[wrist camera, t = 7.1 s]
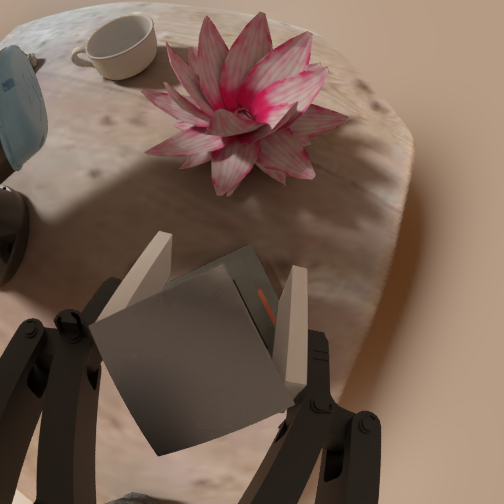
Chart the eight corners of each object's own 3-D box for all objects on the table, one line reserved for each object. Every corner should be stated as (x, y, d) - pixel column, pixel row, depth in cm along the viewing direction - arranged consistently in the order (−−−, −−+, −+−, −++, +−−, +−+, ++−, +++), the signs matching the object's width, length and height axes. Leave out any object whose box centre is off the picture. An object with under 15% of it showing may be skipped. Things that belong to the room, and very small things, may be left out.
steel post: (191, 309, 27) (88, 325, 7) (234, 289, 28) (223, 261, 8) (212, 351, 26) (158, 456, 7) (254, 332, 27) (295, 404, 7)
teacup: (168, 43, 37) (160, 9, 30) (153, 86, 36) (140, 49, 28) (97, 54, 37) (83, 24, 29) (76, 96, 35) (56, 67, 27)
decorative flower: (126, 171, 33) (73, 101, 18) (214, 63, 37) (208, -16, 22) (279, 251, 32) (313, 209, 17) (345, 119, 36) (387, 45, 21)
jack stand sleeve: (153, 291, 31) (102, 284, 18) (250, 245, 32) (258, 209, 19) (200, 388, 29) (178, 438, 16) (298, 342, 31) (336, 368, 18)
